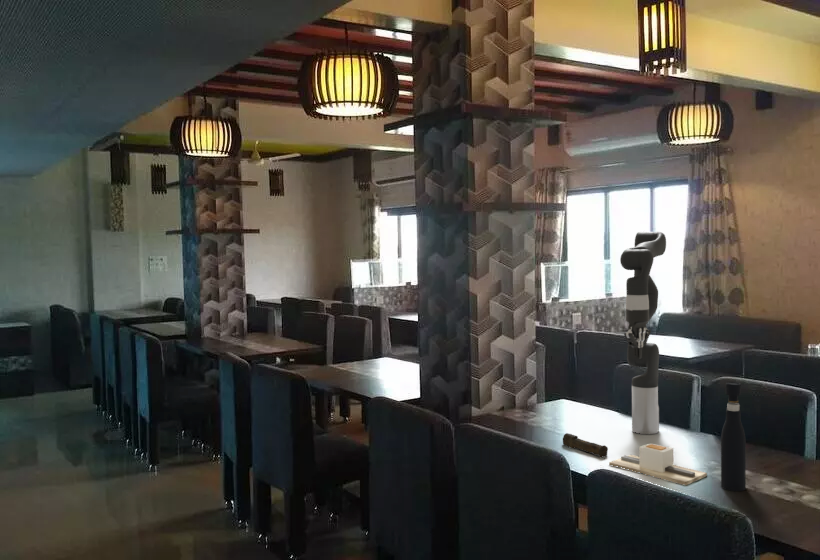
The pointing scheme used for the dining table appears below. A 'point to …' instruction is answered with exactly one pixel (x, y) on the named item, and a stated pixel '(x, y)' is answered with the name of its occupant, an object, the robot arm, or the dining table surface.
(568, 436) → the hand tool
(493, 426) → the dining table surface
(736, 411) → the wine bottle
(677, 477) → the rail board
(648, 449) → the block
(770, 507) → the dining table surface
